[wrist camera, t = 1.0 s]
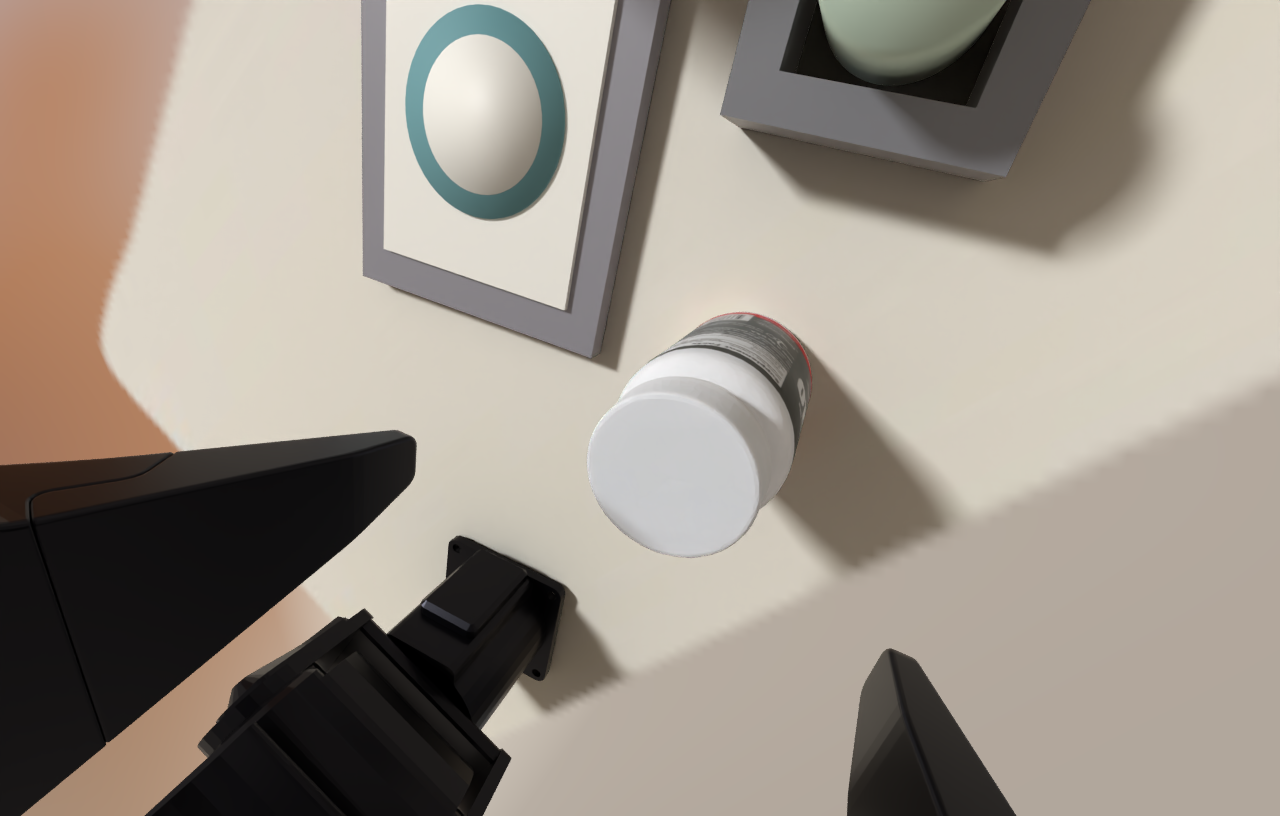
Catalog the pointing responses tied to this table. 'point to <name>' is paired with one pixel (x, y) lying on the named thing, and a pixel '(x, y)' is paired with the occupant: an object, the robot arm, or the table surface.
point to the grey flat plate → (505, 154)
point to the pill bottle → (702, 436)
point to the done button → (903, 35)
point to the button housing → (897, 122)
